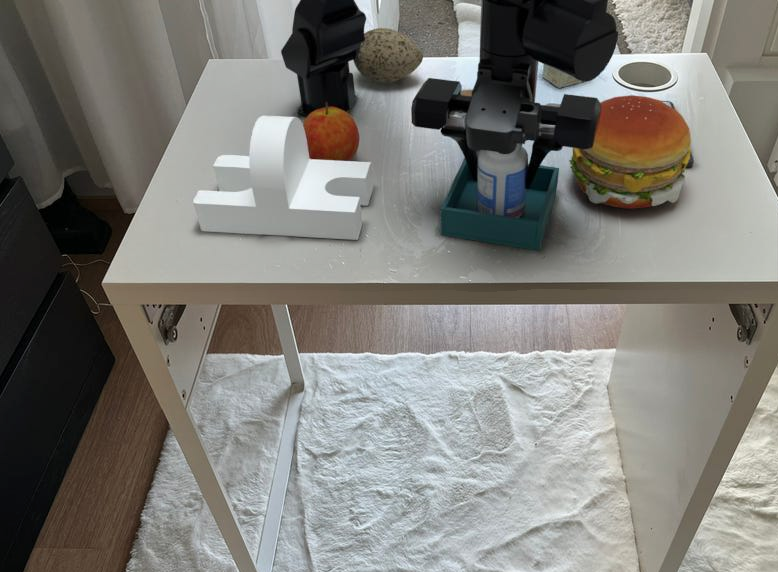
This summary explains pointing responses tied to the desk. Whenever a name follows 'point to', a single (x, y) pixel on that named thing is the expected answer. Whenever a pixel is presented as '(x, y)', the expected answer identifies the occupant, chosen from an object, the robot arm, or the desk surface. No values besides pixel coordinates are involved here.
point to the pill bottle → (502, 182)
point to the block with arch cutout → (285, 188)
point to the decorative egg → (387, 56)
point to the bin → (498, 229)
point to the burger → (634, 154)
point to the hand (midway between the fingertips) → (501, 183)
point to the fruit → (331, 134)
